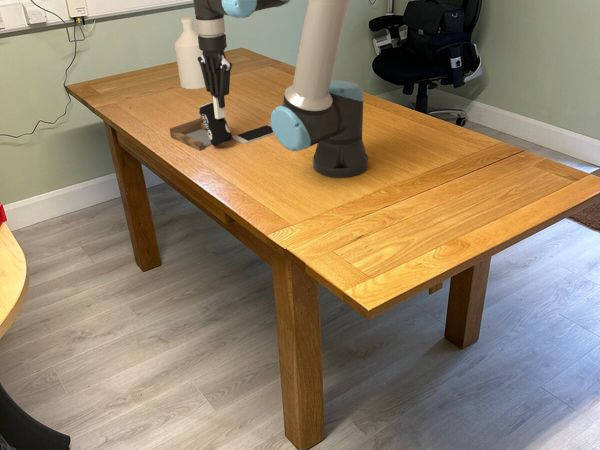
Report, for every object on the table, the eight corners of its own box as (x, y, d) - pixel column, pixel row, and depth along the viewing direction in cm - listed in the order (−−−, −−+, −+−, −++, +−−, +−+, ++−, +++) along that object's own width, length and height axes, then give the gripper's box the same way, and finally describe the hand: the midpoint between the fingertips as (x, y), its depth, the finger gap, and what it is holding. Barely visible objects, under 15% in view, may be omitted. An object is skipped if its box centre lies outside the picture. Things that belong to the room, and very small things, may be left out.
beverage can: (228, 140, 170) (212, 100, 168) (209, 147, 172) (193, 109, 170) (236, 138, 176) (221, 99, 174) (217, 145, 178) (203, 108, 176)
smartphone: (230, 139, 182) (230, 136, 181) (270, 126, 190) (269, 123, 189) (243, 145, 177) (243, 142, 176) (283, 132, 185) (283, 129, 185)
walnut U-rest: (231, 138, 180) (231, 129, 179) (200, 150, 173) (198, 141, 172) (202, 126, 190) (201, 117, 189) (171, 137, 183) (169, 128, 182)
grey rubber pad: (225, 139, 180) (225, 138, 180) (203, 148, 175) (202, 146, 175) (202, 130, 188) (202, 129, 187) (180, 137, 183) (180, 136, 182)
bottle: (208, 88, 224) (200, 21, 212) (177, 89, 225) (167, 22, 212) (212, 79, 235) (205, 14, 222) (183, 80, 235) (174, 15, 222)
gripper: (237, 35, 156) (244, 119, 168) (208, 28, 164) (217, 108, 176) (214, 40, 151) (223, 126, 163) (186, 32, 159) (196, 115, 172)
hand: (220, 117), depth 170 cm, fingers closed
